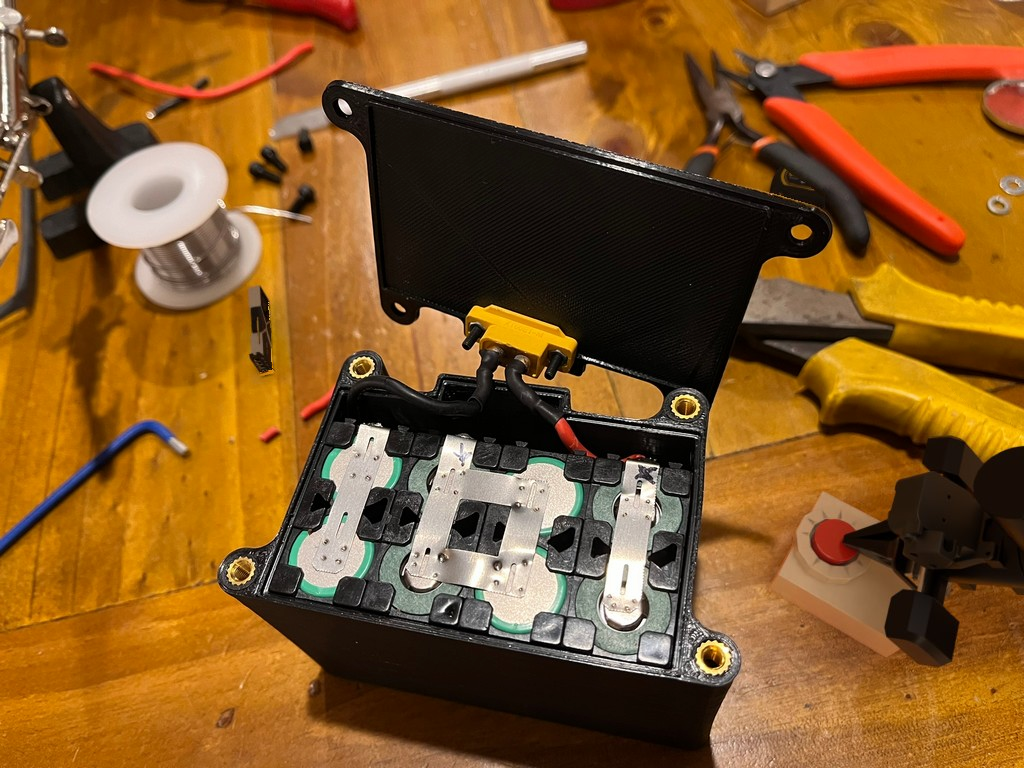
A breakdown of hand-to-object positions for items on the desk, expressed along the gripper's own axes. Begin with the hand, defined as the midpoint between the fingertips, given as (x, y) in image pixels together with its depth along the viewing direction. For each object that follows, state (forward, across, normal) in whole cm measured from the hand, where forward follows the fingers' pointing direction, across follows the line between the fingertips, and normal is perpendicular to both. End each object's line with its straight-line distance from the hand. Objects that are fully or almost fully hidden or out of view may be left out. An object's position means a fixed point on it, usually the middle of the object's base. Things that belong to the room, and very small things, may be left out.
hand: (845, 541), depth 71 cm
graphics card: (+57, -2, -44) cm, 72 cm away
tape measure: (+16, -46, -4) cm, 49 cm away
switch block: (+4, 0, +8) cm, 9 cm away
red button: (+2, 0, +1) cm, 2 cm away
